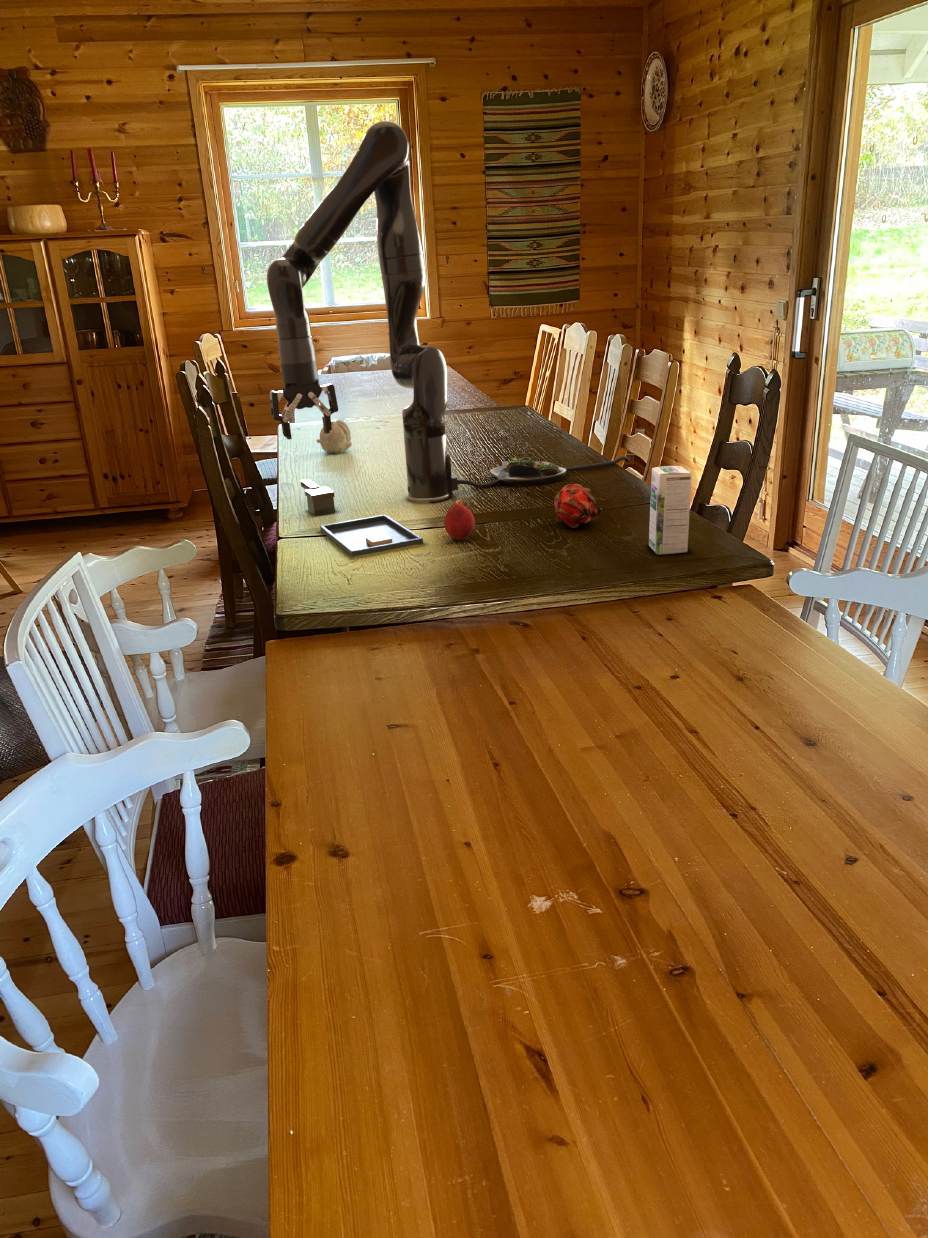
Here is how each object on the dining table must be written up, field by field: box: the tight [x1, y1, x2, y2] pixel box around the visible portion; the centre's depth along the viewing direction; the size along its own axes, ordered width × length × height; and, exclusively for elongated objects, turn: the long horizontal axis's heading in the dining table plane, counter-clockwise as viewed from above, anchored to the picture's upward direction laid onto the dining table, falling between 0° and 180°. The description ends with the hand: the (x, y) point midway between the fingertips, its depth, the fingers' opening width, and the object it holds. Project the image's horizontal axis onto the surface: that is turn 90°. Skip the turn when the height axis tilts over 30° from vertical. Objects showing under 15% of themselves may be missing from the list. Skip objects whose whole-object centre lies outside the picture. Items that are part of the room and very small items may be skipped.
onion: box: [443, 499, 476, 542], centre depth 173 cm, size 6×6×8 cm
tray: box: [319, 514, 424, 558], centre depth 179 cm, size 14×20×1 cm
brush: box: [300, 478, 336, 517], centre depth 203 cm, size 14×5×5 cm, turn 26°
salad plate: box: [490, 456, 567, 487], centre depth 220 cm, size 19×18×5 cm
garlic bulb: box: [316, 419, 353, 455], centre depth 258 cm, size 9×8×10 cm
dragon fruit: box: [553, 483, 603, 529], centre depth 180 cm, size 8×8×12 cm
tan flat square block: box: [366, 534, 392, 547], centre depth 175 cm, size 4×4×1 cm
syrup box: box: [648, 465, 693, 556], centre depth 161 cm, size 6×6×14 cm
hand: (308, 435), depth 199 cm, fingers open, 8 cm apart
